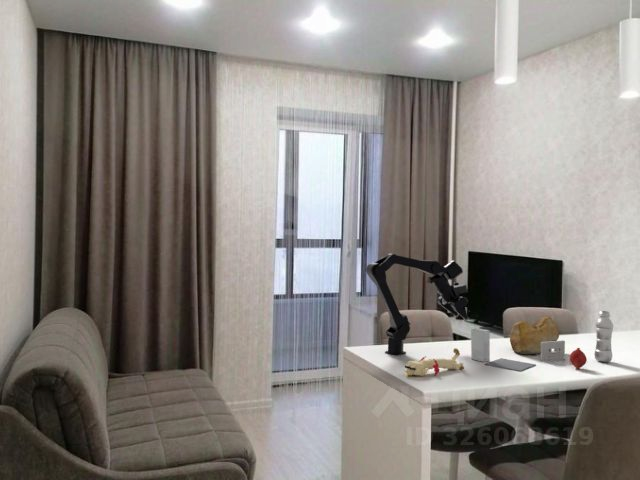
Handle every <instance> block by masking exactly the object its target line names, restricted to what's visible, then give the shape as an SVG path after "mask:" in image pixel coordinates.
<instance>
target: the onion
mask: <svg viewBox="0 0 640 480" xmlns="http://www.w3.org/2000/svg"><path fill="white" fill-rule="evenodd" d="M569 362H570V364H572V366H573V367H575V369H577V370H578V369H579V370H580V369H581V368H582V367H584V366H585V365H586V363H587V356H586V354H585V353H584V352H583V351H582V350H581V347H576V349H574V350H573V351H572V352H571V353H570V354H569Z"/></svg>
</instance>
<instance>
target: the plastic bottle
mask: <svg viewBox="0 0 640 480" xmlns="http://www.w3.org/2000/svg"><path fill="white" fill-rule="evenodd" d="M598 315H599V318H598V319H597V320H596V322H595V332H596V334H595V335H596V343H595V350H594V353H593V354H594V359H595V360H596V361H599V362H601V363H610V362H611V361H612V360H613V351H612V336H613V332H614V330H613V329H614V324H613V322H612V320H611V318H610V316H611V313H610V311H607V310H600V311H599V314H598Z"/></svg>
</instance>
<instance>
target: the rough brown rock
mask: <svg viewBox="0 0 640 480" xmlns="http://www.w3.org/2000/svg"><path fill="white" fill-rule="evenodd" d="M559 333H560V332H559V329H558V325H557V323H556V322H555V321H554V320H553V318H552V317H551V316H549V315H548V316H544V317H541V318H539V319H538V320H537V321H535V323H534V324H531V323H529V322H528V321H518V322H515V323H514V324H513V327H512V329H511V332H510V334H509V342H510V347H511V349H512V351H513V352H514V353H516V352H517V354H521V355H532V354H533V355H537V354H541V342H549V341H559V338H560V334H559Z"/></svg>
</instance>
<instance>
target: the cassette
mask: <svg viewBox="0 0 640 480" xmlns="http://www.w3.org/2000/svg"><path fill="white" fill-rule="evenodd" d="M565 347H566V341H565V340H564V339H563V340H557V341H549V342H541V352H540V362H543V363H544V362H545V363H546V362H556V361H564V360H565V350H566V348H565ZM552 350H553V351H552Z"/></svg>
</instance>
